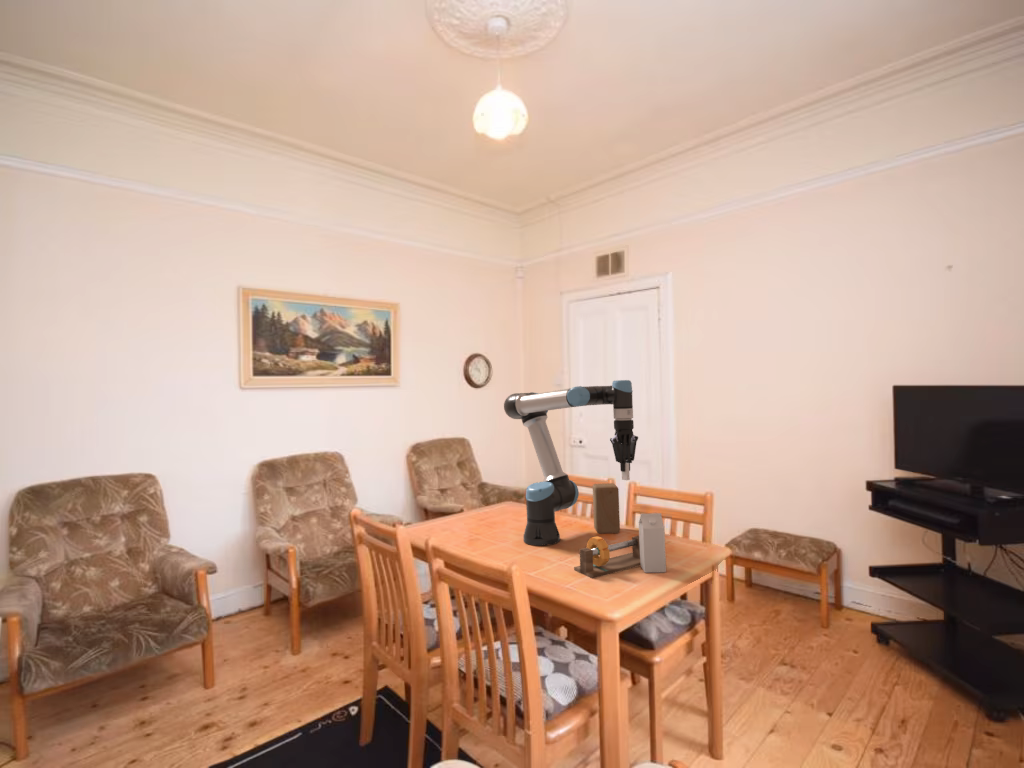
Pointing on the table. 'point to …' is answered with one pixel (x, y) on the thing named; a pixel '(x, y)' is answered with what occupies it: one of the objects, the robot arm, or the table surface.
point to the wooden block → (606, 508)
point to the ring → (603, 550)
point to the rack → (612, 565)
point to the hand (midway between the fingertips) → (625, 479)
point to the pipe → (616, 546)
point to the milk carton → (652, 543)
